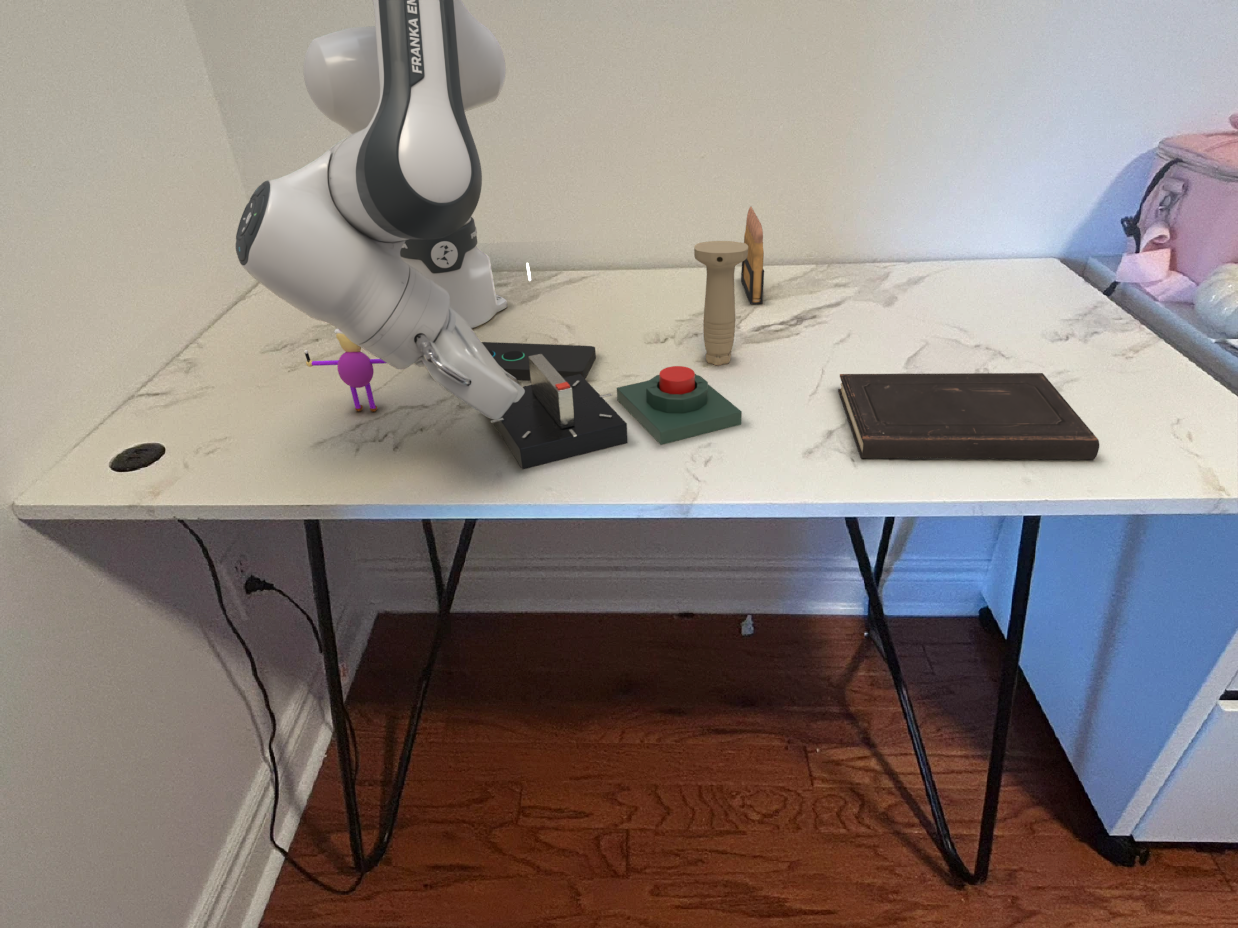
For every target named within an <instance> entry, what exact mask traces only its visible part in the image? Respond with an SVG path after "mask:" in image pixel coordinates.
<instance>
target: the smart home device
mask: <svg viewBox="0 0 1238 928" xmlns="http://www.w3.org/2000/svg"><path fill="white" fill-rule="evenodd" d="M481 342H482V343H483V345H484V346H485V347H486V349H487V350H488V351H489V353H490V354H491V355H492V357H493V358H494V359H495V361H496V362H497V363H498V365H499V366H500V367H502V368H503V369H504V370H505V371H506V372H507V373H509V374H510V375H512V376H513V377H515V378H516V379H517V381H522V382H523V381H525V382H531V377H530V368H529V358H528V356H533V355H537V354H542V355H543V356H544V357H545V358H546V359H547V361H548V362H549V363H550V364H551V365H552V366H553V367H554V369H555V370H556V371H557V372H558V373H559V374H560V375H561V376H562V378H565V377H569V376H574V375H578V374H581V375H582V377H583V378H584V379H585V380H587V377H588V376H589V373H590V371H591V369H592V367H593V365H594V363H595V361H596V359H597V355H596V354H597V353H596V347H595V346H593V345H580V344H579V345H577V344H552V343H550V344H549V343H526V342H525V343H523V342H497V341H481Z"/></svg>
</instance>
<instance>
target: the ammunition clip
mask: <svg viewBox="0 0 1238 928" xmlns="http://www.w3.org/2000/svg"><path fill="white" fill-rule="evenodd" d="M745 221H746V222H745V223H746V224H745V230H744V236H743V243H745V244H747V245H748V256H747V258H746V259H745V260H744V261H743V262H741V269H740V270H741V273H740V282H741V285H742V288H743V290H744V294H745V295H746V298H747V300H748V303H749V305H763V301H764V283H765V281H764V280H765V270H764V255H765V253H764V230H763V226H762V223H761V221H760V219H759V218H758V216H757V214H756V212H755V210H754V209H753V207H752V206H749V207H748V211H747V214H746V220H745Z"/></svg>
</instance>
